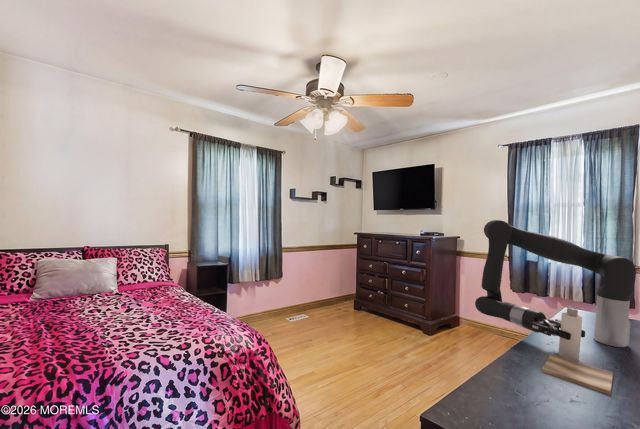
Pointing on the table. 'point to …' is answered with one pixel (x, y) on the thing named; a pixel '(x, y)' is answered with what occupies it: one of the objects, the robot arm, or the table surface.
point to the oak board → (579, 373)
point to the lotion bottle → (573, 326)
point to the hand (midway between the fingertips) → (577, 335)
